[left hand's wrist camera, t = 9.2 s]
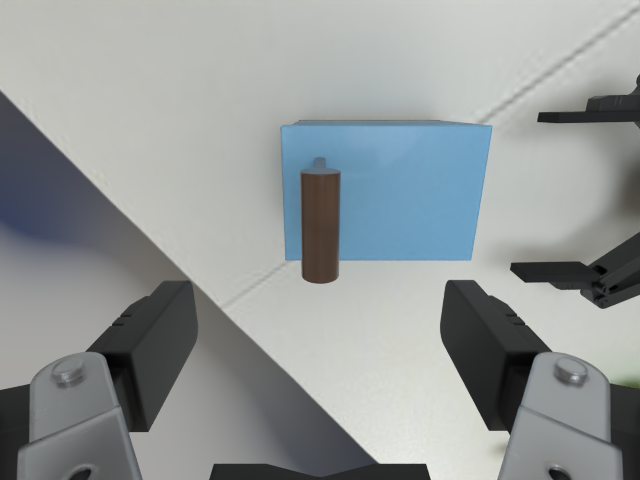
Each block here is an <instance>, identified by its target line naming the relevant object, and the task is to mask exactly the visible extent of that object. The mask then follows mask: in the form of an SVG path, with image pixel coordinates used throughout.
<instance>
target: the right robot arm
mask: <svg viewBox="0 0 640 480" xmlns="http://www.w3.org/2000/svg"><path fill="white" fill-rule="evenodd" d="M636 83H637V87H636V89H635V90H634V91H633V92H632V93H631V94H629V95H609V96H594V97H592V98H589V99H588V103H587V107H586V111H583V112H539V115H538V120H537V122H547V123H590V122H635V124H636V125H637V126H638V127H639V128H640V75H639V76H638V77H637V81H636ZM510 270H511V271H512V272H513V273H514V274H516V275H517V276H518V277H519V278H520V279H521V280H523V281H524V282H525V283H532V282H549V283H550V284H551V285H553V286H554V287H555V288H557V289H560V290H571V289H572V290H578V289H581V290H580V294H581V295H582V296H584V297H585V298H586V299H588V300H589V301H591V302H592V303H593V304H595V305H596V306H598V307H599V308H601V309H605V308H608V307H610V306H613V305H615V304H618V303H620V302H623V301H625V300H628V299H630V298H633V297H635V296H638V295H640V232H639V233H637V234H636V235H634V236H633V237H631V238H630V239H628V240H627V241H625V242H624V243H622V244H621V245H619V246H618V247H616V248H614V249H613V250H611V251H610V252H608V253H607V254H605V255H604V256H602V257H601V258H599V259H598V260H596V261H595V262H593V263H591V264H590V265H588V266H586V265H584V264H583V263H581V262H524V263H511V267H510Z"/></svg>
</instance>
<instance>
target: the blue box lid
mask: <svg viewBox="0 0 640 480" xmlns="http://www.w3.org/2000/svg"><path fill="white" fill-rule="evenodd" d="M491 132H492V126H490V125H282V126H281V150H282V177H283V205H284V232H285V259H286V260H301V264H302V277H303V279H304V280H306V281H308V282H311V283H318V284H323V283H329V282H332V281H335V280H336V279H337V278H338V276H339V260H471V257H472V251H473V245H474V239H475V232H476V226H477V220H478V214H479V207H480V201H481V195H482V189H483V182H484V176H485V170H486V164H487V157H488V151H489V145H490V139H491Z"/></svg>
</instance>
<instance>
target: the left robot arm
mask: <svg viewBox="0 0 640 480" xmlns="http://www.w3.org/2000/svg"><path fill="white" fill-rule="evenodd" d="M440 333H441V338H442V342H443V344H444V346H445V348H446V350H447V352H448V354H449V356H450V357H451V359H452V361H453V363H454V365H455V367H456V369H457V371H458V373H459V375H460V377H461V378H462V380H463V382H464V384H465V386H466V388H467V390H468V392H469V394H470V396H471V397H472V399H473V401H474V403H475V405H476V407H477V409H478V411H479V413H480V415H481V417H482V418H483V420H484V422H485V424H486V426H487V428H488V430H489V431H508V432H509V434H510V439H509V442H508V446H507V449H506V452H505V456H504V459H503V462H502V466H501V469H500V472H499V476H498V479H497V480H640V390H639V389H635V388H630V387H625V386H620V385H615V384H610V383H609V381H608V379H607V378H606V376H605V375H604V374H603V373H602V372H601V371H600V370H599V369H597V368H596V367H594V366H593V365H591V364H590V363H588V362H586V361H584V360H582V359H580V358H577V357H574V356H572V355H568V354H564V353H558V352H552V351H551V349H550V348H549V347H548V346H547V345H546V344H545V343H544V342H543V341H542V340H541V339H540V338H539V337H538V336H537V335H536V334H535V333H534V332H533V331H532V330H531V329H530V328H529V327H528V325H525V322H524V321H523V320H522V319H521V318H520V317H517V314H516V313H515V312H514V311H513V310H512V309H511V308H510V307H509V306H508V305H507V304H506V303H504V302H502V301H501V300H499V299H497V298H495V297H494V296H488V295H487V294H486V293H485V292H484V290H483V289H482V288H481V287H480V286H479V285H478V284H477V283H476V282H475V281H474V280H448V281H447V283H446V286H445V292H444V300H443V307H442V314H441V322H440ZM197 335H198V321H197V314H196V307H195V300H194V292H193V287H192V284H191V282H190V281H163V282H162V283H161V284H160V285H159V286H158V287H157V289H156V290H155V291H154V292H153V293H152V294H151V295H150V296H145V297H143V298H142V299H140V300H138V301H136V302H135V303H133V304H131V305H130V306H129V307H128V308H127V309H126V310H125V311H124V312H123V313H122V314H121V316H120V317H118V318H117V319H116V320H115V321H114V322H113V324H112V326H110V327H109V328H108V329H107V330H106V331H105V332H104V333H103V334H102V335H101V336H100V337H99V338H98V339H97V340H96V341H95V342H94V343H93V344H92V345H91V346H90V347H89V348H88V349H87V350H86V351H85V352H82V353H76V354H72V355H68V356H66V357H63V358H60V359H58V360H56V361H54V362H52V363H50V364H49V365H47V366H46V367H44V368H43V369H41V370H40V371H39V372H38V373H37V374H36V375H35V376H34V378H33V379H32V381H31V383H30V384H27V385H23V386H18V387H13V388H8V389H3V390H0V480H143V479H142V476H141V473H140V469H139V466H138V462H137V459H136V456H135V452H134V449H133V446H132V442H131V439H130V435H129V432H149V430H150V428H151V426H152V424H153V422H154V420H155V418H156V417H157V415H158V413H159V411H160V409H161V407H162V405H163V403H164V402H165V400H166V398H167V396H168V394H169V392H170V390H171V388H172V386H173V385H174V383H175V381H176V379H177V377H178V375H179V373H180V371H181V369H182V368H183V366H184V364H185V362H186V360H187V358H188V356H189V354H190V353H191V351H192V349H193V347H194V345H195V343H196V340H197ZM209 480H431V479H430V476H429V472H428V469H427V466H426V464H371V465H368V466H364V467H360V468H356V469H352V470H348V471H345V472H341V473H337V474H333V475H329V476H325V477H315V476H311V475H307V474H303V473H299V472H296V471H291V470H288V469H284V468H280V467H276V466H272V465H269V464H214V466H213V469H212V472H211V476H210V479H209Z"/></svg>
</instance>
